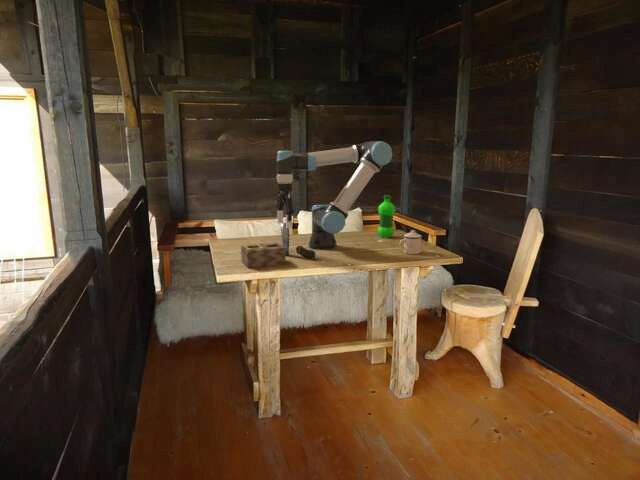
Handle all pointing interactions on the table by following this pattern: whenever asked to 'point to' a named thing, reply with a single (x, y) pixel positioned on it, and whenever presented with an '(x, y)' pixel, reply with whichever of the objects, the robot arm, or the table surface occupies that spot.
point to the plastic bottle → (386, 217)
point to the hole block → (262, 255)
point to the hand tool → (306, 252)
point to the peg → (285, 238)
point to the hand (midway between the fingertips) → (284, 225)
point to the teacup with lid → (411, 243)
